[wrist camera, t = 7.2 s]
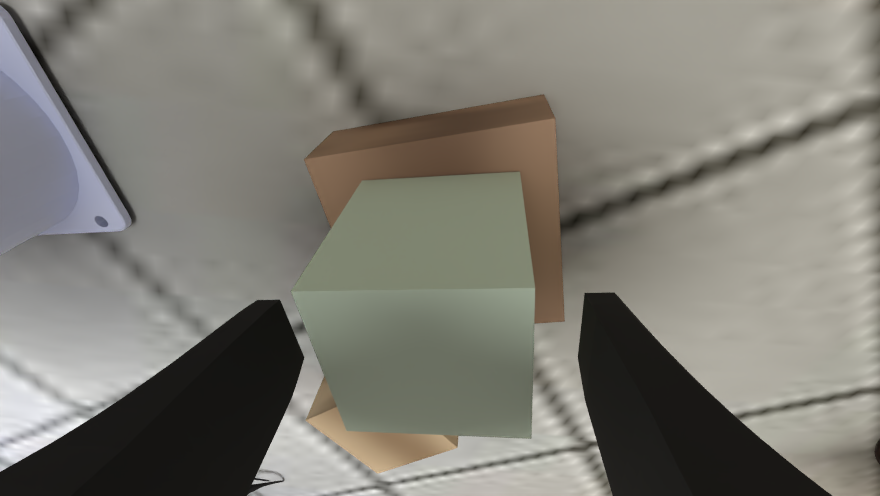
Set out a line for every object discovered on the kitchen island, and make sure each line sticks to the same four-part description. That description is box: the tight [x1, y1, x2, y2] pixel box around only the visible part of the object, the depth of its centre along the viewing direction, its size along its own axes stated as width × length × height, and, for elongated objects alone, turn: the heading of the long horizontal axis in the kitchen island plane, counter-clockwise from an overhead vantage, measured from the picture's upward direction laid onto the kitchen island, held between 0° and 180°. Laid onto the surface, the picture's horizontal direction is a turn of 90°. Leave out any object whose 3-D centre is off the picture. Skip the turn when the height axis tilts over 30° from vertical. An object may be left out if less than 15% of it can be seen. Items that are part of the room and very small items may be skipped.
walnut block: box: [304, 95, 565, 323], centre depth 14 cm, size 7×7×3 cm
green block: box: [291, 172, 535, 439], centre depth 11 cm, size 4×4×5 cm
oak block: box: [306, 376, 458, 473], centre depth 20 cm, size 5×5×3 cm
